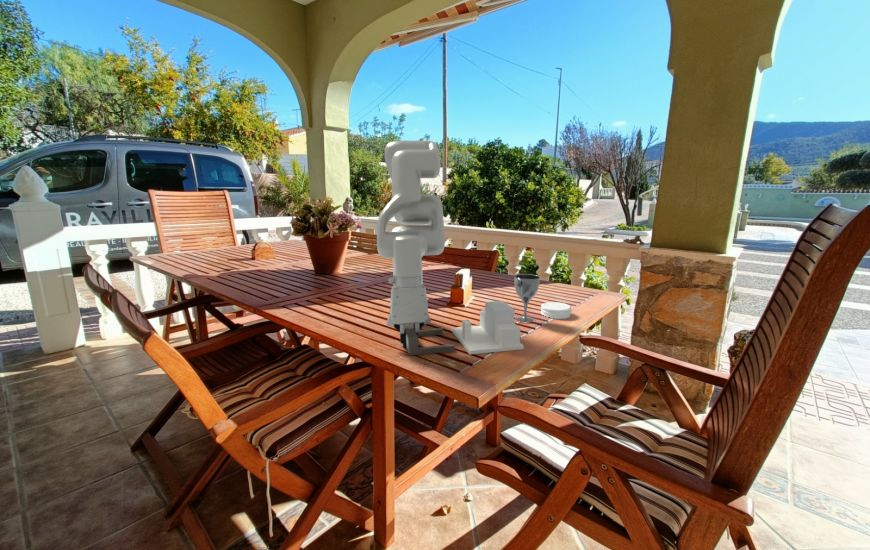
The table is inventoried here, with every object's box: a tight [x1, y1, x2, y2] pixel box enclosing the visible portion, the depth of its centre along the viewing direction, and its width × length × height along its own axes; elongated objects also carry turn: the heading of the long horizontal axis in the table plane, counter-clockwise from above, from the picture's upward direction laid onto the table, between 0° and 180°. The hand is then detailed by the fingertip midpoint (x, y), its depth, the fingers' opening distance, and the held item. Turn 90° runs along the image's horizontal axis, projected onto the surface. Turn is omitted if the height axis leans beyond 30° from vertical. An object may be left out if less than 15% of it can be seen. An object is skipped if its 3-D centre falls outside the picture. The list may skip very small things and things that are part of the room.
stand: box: [451, 300, 525, 356], centre depth 111 cm, size 16×18×10 cm
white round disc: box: [540, 301, 572, 320], centre depth 133 cm, size 10×10×4 cm
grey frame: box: [404, 324, 456, 357], centre depth 108 cm, size 12×14×5 cm
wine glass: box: [514, 273, 541, 322], centre depth 126 cm, size 8×8×15 cm
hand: (409, 344), depth 108 cm, fingers closed on grey frame
